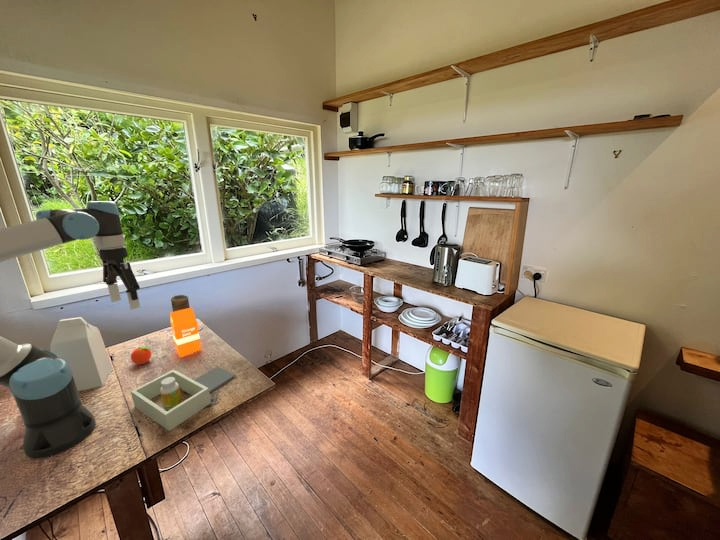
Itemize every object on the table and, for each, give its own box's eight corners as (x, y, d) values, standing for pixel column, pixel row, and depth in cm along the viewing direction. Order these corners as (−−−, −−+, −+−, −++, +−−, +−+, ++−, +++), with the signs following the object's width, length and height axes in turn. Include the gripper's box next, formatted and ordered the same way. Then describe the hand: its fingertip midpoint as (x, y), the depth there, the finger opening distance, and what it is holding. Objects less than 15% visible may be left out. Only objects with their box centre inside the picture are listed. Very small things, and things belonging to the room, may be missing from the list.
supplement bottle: (171, 412, 98) (166, 387, 95) (159, 408, 100) (154, 383, 97) (185, 401, 103) (181, 377, 100) (174, 397, 105) (169, 374, 102)
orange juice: (175, 350, 134) (167, 309, 129) (197, 343, 140) (190, 304, 134) (180, 357, 129) (172, 315, 123) (202, 350, 134) (195, 309, 129)
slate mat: (210, 392, 107) (209, 391, 107) (191, 383, 112) (191, 381, 112) (235, 376, 116) (235, 374, 116) (217, 368, 121) (217, 366, 121)
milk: (60, 394, 106) (39, 329, 99) (74, 376, 116) (56, 315, 109) (102, 385, 111) (85, 322, 103) (112, 369, 121) (97, 310, 113)
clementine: (157, 356, 130) (154, 342, 128) (152, 365, 123) (149, 350, 121) (136, 359, 127) (132, 345, 125) (130, 369, 121) (126, 353, 119)
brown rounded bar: (189, 329, 154) (183, 293, 148) (197, 333, 150) (190, 296, 144) (174, 335, 148) (166, 297, 142) (181, 339, 144) (174, 301, 138)
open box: (169, 431, 90) (165, 414, 89) (134, 406, 100) (130, 391, 99) (211, 402, 102) (208, 388, 100) (176, 383, 112) (173, 369, 110)
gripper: (143, 248, 99) (155, 307, 105) (107, 242, 111) (120, 295, 116) (117, 253, 93) (131, 315, 99) (82, 245, 104) (97, 301, 110)
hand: (125, 304), depth 108 cm, fingers open, 13 cm apart
